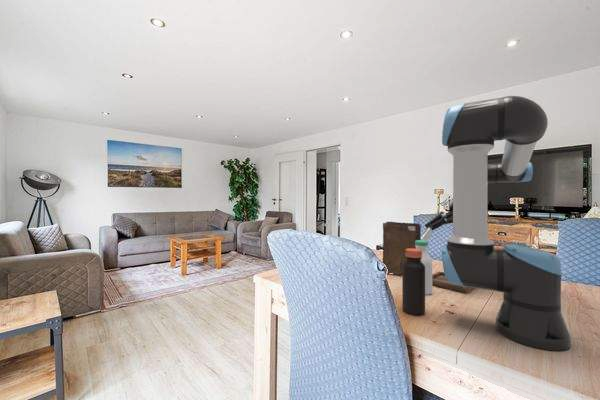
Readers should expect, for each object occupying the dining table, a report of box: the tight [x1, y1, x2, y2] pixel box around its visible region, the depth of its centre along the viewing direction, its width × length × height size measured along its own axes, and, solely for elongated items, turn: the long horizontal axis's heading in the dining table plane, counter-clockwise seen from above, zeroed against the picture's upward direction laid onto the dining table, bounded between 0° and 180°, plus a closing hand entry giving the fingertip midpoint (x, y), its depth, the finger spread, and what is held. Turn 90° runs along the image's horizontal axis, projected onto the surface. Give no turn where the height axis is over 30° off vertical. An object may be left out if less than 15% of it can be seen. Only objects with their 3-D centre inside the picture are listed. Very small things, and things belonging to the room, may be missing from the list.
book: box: [382, 221, 422, 276], centre depth 127 cm, size 17×7×25 cm, turn 51°
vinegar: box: [401, 248, 426, 316], centre depth 87 cm, size 7×7×20 cm
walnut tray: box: [432, 271, 475, 295], centre depth 113 cm, size 16×16×2 cm
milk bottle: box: [415, 240, 433, 296], centre depth 104 cm, size 8×8×20 cm
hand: (436, 243), depth 108 cm, fingers open, 13 cm apart
